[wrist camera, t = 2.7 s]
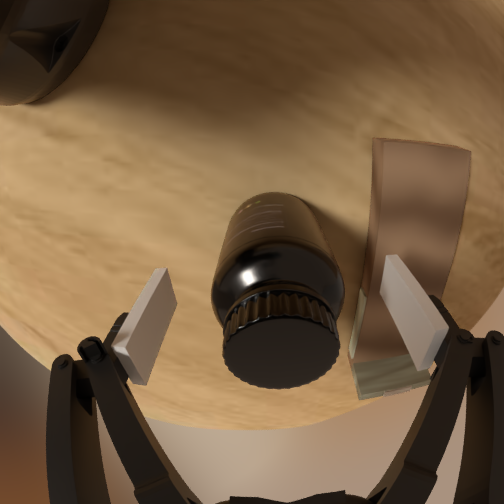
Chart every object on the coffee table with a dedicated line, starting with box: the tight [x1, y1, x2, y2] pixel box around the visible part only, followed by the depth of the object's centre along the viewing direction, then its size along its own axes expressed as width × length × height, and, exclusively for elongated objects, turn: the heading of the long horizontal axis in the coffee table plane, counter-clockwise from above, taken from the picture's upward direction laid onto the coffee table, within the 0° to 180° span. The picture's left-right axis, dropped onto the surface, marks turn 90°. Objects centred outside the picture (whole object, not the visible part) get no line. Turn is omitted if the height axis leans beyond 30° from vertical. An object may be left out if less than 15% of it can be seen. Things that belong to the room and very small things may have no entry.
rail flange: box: [348, 138, 471, 400], centre depth 19 cm, size 22×8×6 cm, turn 5°
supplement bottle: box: [211, 192, 345, 389], centre depth 16 cm, size 7×7×12 cm
